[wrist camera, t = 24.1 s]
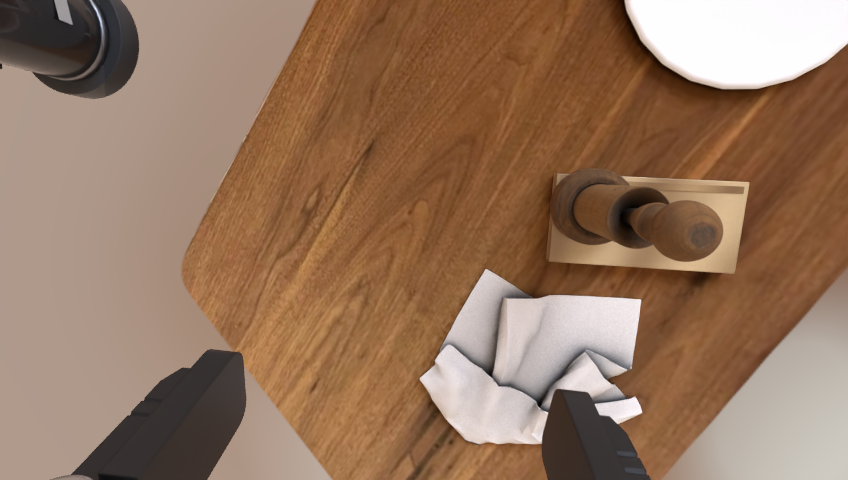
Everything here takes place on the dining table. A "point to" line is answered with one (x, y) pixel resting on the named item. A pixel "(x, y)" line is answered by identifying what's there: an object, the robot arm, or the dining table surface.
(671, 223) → the mortar and pestle
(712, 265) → the cutting board
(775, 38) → the plate
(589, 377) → the cloth
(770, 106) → the dining table surface
